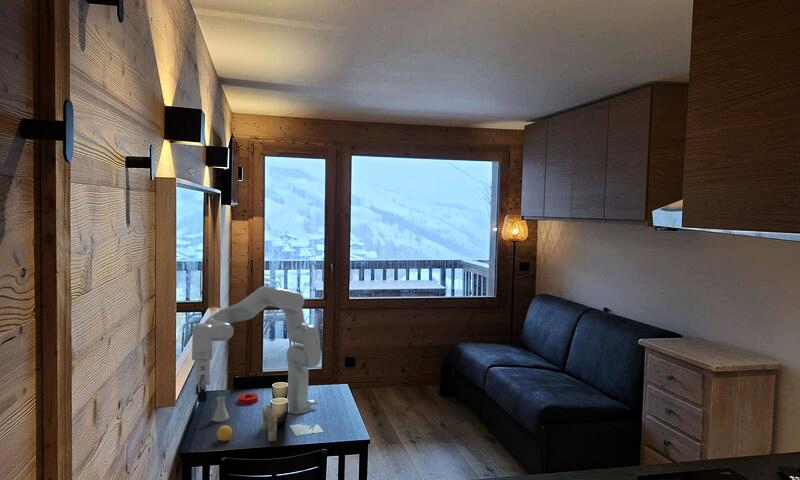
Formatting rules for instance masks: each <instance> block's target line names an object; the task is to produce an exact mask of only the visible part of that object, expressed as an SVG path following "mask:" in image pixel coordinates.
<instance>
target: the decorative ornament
mask: <svg viewBox="0 0 800 480" xmlns="http://www.w3.org/2000/svg"><path fill="white" fill-rule="evenodd" d="M237 396H238V397H237V404H238V405H243V406H251V405H255V404H257V403H259V395H258V394H257V393H252V392H249V393H248V392H247V393H241V394H239V395H237Z"/></svg>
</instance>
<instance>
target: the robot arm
mask: <svg viewBox="0 0 800 480" xmlns="http://www.w3.org/2000/svg"><path fill="white" fill-rule="evenodd" d="M304 304H305V297H304V295H302V293H300V292H298V291H293V290H290V289H289V290H288V289H284V288H280V287H276V286H268V285H263V286H260V287H258V288H257V289H255V291H253V292H252V293H250V294H249V295H248V296H246V297H245V298H244V299H242V300H240V301H239V302H237V303H235V304H232V305H231V306H227V307H224V308H223V309H221V310H219V311H217V312H215V313H214V314H212V315H211V316H210V317H209V318H207V319H206V320H205V321H204V323H197V324H196V323H195V324H194V325H193V327H192V341H191V343H192V346H191V347H192V349H191V360H192V361H194V378H195V379H194V380H195V394H196V396H197V403H206V402H207V393H208V392H207V386H209V385H210V384H211V383H210V381H211V379H210V377H211V376H210V374H211V373H210V369H211V368H210V365H211V364H210V362H211V361H210V360H212V359H213V345H214V344H213V342H224V341H228V340H230V339H231V338H232V336H234V332H235V331H234V330H235V329H234V327H233V325H232V324H233V323H236V322H243V321H246V320H251V319H253V318H254V317H255V316H256V315H258V314H259V313H260V312H262V310H264V309H265V308H266V307H267V308H268V307H272V308H273V307H274V308H278V309H280V310H281V311H282V312H283V314H284V317H285V324H286V334H287V339H288V340H289V341H290V342H292V343H293V344H292V345H290V346H289V347H288V348H287V350H286V361H287V371H288V373H287V374H288V377H287V402H288V401H289V411H288V412H289V413H292V414H291V415H301V414H300V413H303V414H306V413H305V412H307V413H308V411H309V410H310V409H312V406H316V405H318V400H314V399H309V369H310V368H311V369H314V368H316V367H318V365H319V364H320V362H321V357H322V351H321V349H322V348H321V341H320V340H321V339H320V334H319V331H318V329H317V328H316V327H315V326H314V325H312V324H307V323H306V321H305V315H304V314H305V313H304V311H303V307H304ZM308 368H309V369H308ZM310 411H311V410H310ZM310 411H309V412H310ZM289 413H288V414H289Z"/></svg>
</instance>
